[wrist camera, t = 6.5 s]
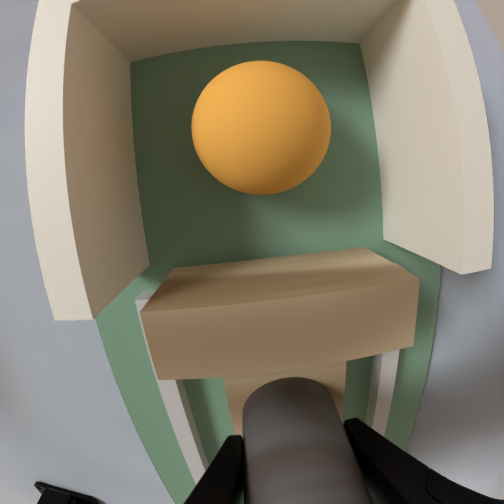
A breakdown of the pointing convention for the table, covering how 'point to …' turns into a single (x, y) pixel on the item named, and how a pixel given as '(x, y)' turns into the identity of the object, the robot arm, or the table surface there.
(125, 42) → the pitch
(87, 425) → the table surface
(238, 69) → the ball
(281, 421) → the kicker
